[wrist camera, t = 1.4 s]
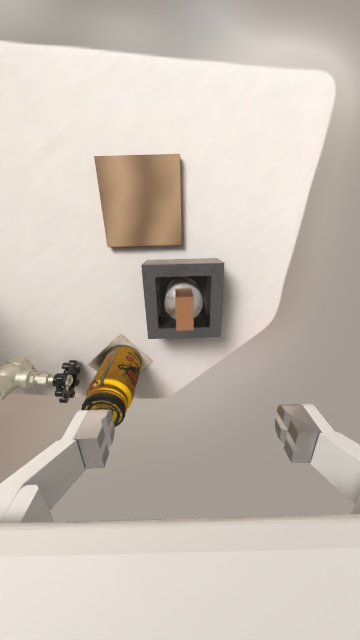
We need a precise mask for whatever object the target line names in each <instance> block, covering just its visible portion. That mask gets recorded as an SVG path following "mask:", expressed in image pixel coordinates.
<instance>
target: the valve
mask: <svg viewBox="0 0 360 640" xmlns="http://www.w3.org/2000/svg"><path fill="white" fill-rule="evenodd" d="M76 366H77V361H76V360H70V361H69V363H63V365H62V369H65V371H64V373H63V374H56V375H55V376H54V377H52V375H51V374H49V373H41V374H40V375H39V374H38V373H37V371H36V370H35V369H32V368H33V365H32V364H31V363H30V362H29V361H28V359H27V358H23V357H14V358H13V359H11V360H10V361H9V362H8V363H7V364H4V365H2V366H0V400H2V399H4V398H5V397H6V396H7V395H8V394H9V393H10V391H11V390H14V389H16V388H17V387H18V386H21V387H22V388H32V387H33V386H34V385H35V384H37V383H38V384H39V385H45V386H48V385H49V384H50V383H52V384H53V386H55V387H56V391H55V396H57V397H63V398H60V400H59V401H60V402H61V403H67V402H68V400H69V398H73V397H74V396H75V391H74V388H75V386H78V385H79V379H77V375H78V374H79V373H80V367H76ZM71 375H72V376H71ZM66 386H67V387H69V386H70V387H69V389H68V390H66Z"/></svg>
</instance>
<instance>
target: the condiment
mask: <svg viewBox="0 0 360 640" xmlns="http://www.w3.org/2000/svg"><path fill="white" fill-rule="evenodd" d="M151 362H153V361H152V360H150V359H149V358H148V357H147V356H146V355H145V354H144V353H143V352H141V351H140V350H139V349H138V348H137V347H135V346H134V345H133V344H132V343H131V342H129V341H128V340H127V339H126V338H124V337H123V336H122V335H121V334H120V335H119V336H118V337H117V338H116V339H115V340H114V341H113V342H112V343H110V344H109V345H108V346H107V347H106V348H105V349H104V350H103V351H102V352H101V353H100V354H99V355H98V356H97V357H96V358H95V359H94V360H93V361H92V362H91V363H89V364H88V365H89V366H90V367H92V368H94V369H95V370H96V371H98V372H97V374H96V375H95V377H94V379H93V381H92V382H91V384H90V386H89V388H88V390H87V397H86V399H85V401H84V403H83V405H82V410H111V412H112V418H111V421H112V422H113V423H114V427H116V426H118V425H119V424H120V423H121V422H122V421H123V419H124V417H125V413H126V411H127V408H129V406H130V404H131V401H132V399H133V395H134V391H135V387H136V384H137V380H138V377H139V373H140V372H141V371H142V370H143V369H144V368H145V367H147V366H148V365H149V364H150V363H151Z"/></svg>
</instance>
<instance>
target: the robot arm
mask: <svg viewBox="0 0 360 640" xmlns="http://www.w3.org/2000/svg"><path fill="white" fill-rule="evenodd" d="M277 412H278V414H279V415H278V416H277V418H276V419H275V428H276V432H277V435H278V437H279V439H280V440H281V441H282V442H283V443H285V446H284V450H285V451H286V453H287V455H288V457H289V459H290V461H291V463H311V464H312V466H314V467H315V468H316V469H317V470H318V471H319V472H320V473H321V474H322V475H323V476H324V477H326V478H327V479H328V480H329V481H330V482H331V483H332V484H333V485H334V486H335V487H337V488H338V489H339V490H340V491H341V492H342V493H343V494H344V495H345V496H346V497H347V498H348V499H350V500H351V501H352V502H353V503H354V504H355V506H354V508H353V510H352V512H351V514H343V515H307V516H306V515H304V516H266V517H229V518H228V517H227V518H189V519H153V520H114V521H73V522H54V521H53V519H52V516H51V514H50V512H49V511H50V510H51V508H52V507H53V506H54V505H55V504H56V503H57V502H58V500H59V499H60V498H61V497H62V496H63V495H64V493H65V492H66V491H67V490H68V489H69V488H70V487H71V486H72V484H73V483H74V482H75V481H76V480H77V479H78V478H79V477H80V475H81V474H82V473H83V472H84V471H85V469H89V468H104V467H105V464H106V461H107V458H108V455H109V451H108V447H109V446H110V445H111V444H112V442H113V439H114V431H115V430H114V423H113V422H112V421H111V418H112V412H111V410H79V411H78V412H77V413H76V415H75V416H74V418H73V420H72V421H71V423H70V425H69V427H68V428H67V430H66V432H65V434H64V436H63V437H62V439H61V440H57V441H56V442H55V443H53V444H52V445H51V446H50V447H48V448H47V449H46V450H44V451H43V452H41V453H40V454H39V455H38V456H36V457H35V458H33V459H32V460H31V461H29V462H28V463H27V464H26V465H24V466H23V467H22V468H20V469H19V470H18V471H16V472H15V473H14V474H12V475H11V476H10V477H8V478H7V479H6V480H4V481H3V482H2V483H0V640H360V445H358V444H357V443H355V442H354V441H352V440H350V439H349V438H347V437H345V436H344V435H342V434H340V433H339V432H334V430H333V429H332V428H331V426H330V425H329V424H328V423H327V422H326V420H325V419H324V418H323V417H322V416H321V414H320V413H319V412H318V410H317V409H316V408H315V407H314V405H312V404H292V405H279V406H278V409H277Z"/></svg>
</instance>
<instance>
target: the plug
mask: <svg viewBox="0 0 360 640" xmlns="http://www.w3.org/2000/svg"><path fill="white" fill-rule="evenodd" d="M164 304H165V309H166V311H167V313H168V314H169V315H170V316H171V317H172V318H174V319H176V331H182V330H194V318H195V317H196V316H197V315H198V314H199V313H200V311H201V309H202V306H203V299H202V296H201V293H200V291H199V288H198V286H197V284H196V283H195V281H193V280H192V279H190V278H188V277H178V278H175V279H174V280H172V281H171V282H170V283H169V285H168V287H167V290H166V296H165V301H164Z"/></svg>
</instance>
